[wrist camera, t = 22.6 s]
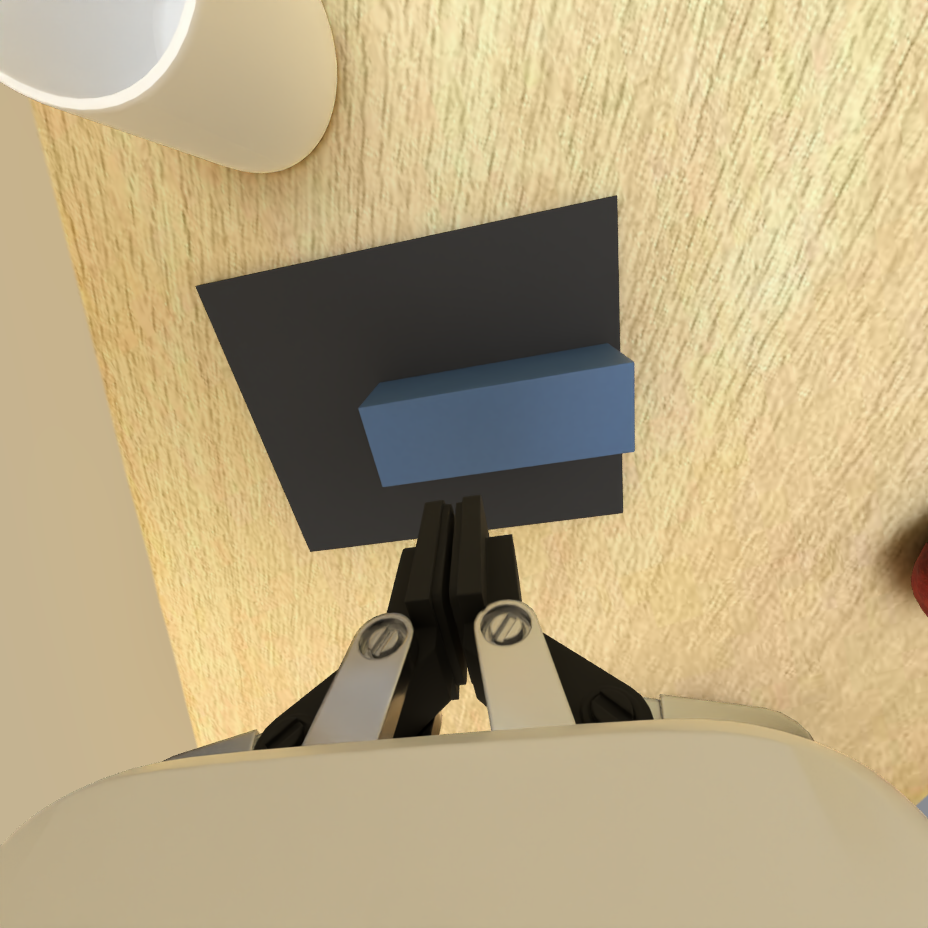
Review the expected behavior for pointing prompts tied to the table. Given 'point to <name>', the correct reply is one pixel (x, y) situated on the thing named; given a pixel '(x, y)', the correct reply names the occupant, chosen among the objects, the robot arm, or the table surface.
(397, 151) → the table surface
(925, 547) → the fruit
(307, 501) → the mat
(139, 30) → the mug
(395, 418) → the block
